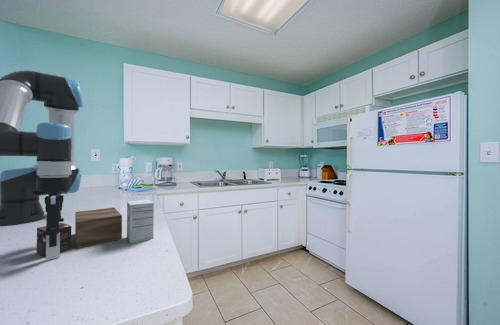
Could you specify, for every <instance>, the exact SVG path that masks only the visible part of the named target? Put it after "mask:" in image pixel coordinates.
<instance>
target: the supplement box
mask: <svg viewBox="0 0 500 325" xmlns="http://www.w3.org/2000/svg"><path fill="white" fill-rule="evenodd" d="M154 205H155V203H154V202H153V201H152V200H150V199H139V200H129V201H128V200H127V202H126V237H127V238H128V240H129V243H130V244H133V243H139V242H144V241H149V240H153V239H154V234H155V233H154V222H155V220H154V219H155V218H154V216H155V212H154V211H155V208H154Z"/></svg>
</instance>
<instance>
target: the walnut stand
mask: <svg viewBox="0 0 500 325" xmlns="http://www.w3.org/2000/svg"><path fill="white" fill-rule="evenodd" d="M74 217H75V221H74V222H75V223H74V224H75V226H74V228H75V229H74V231H75V232H74V234H75V245H76V246H75V247H76V248H78V249H79V248H83V247H88V246H92V245H97V244H103V243H108V242H112V241H118V240H122V239H123V234H122V233H123V215H122V213H120V212H119V211H118V210H117V209H116V207H107V208H98V209H91V210H90V209H89V210H81V211H75V216H74Z"/></svg>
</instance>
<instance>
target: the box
mask: <svg viewBox="0 0 500 325" xmlns="http://www.w3.org/2000/svg"><path fill="white" fill-rule="evenodd" d="M53 229H56V228H53ZM59 230H60V254H61V253H65V252H68V251H71V250H72V225H69V224H67V223H63V222H61V223H60V222H59ZM45 232H46V225H45V226H40V227H37V228H36V254H37V255H40V256H42V257H44V258H46V236H43V235H42V234H43V233H45Z"/></svg>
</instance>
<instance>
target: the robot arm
mask: <svg viewBox="0 0 500 325" xmlns="http://www.w3.org/2000/svg"><path fill="white" fill-rule="evenodd" d="M31 101H36V102H41V103H42V102H43V106H44V108H45V109H46V110H48V122H40V123H37V126H36V132H34V131H24V130H23V131H21V128H22V125H23V121H24V117H25V114H26V110H27V107H28V106H27V105H28V103H30V102H31ZM83 104H84V103H83V96H82V90H81V84H80V83H79V81H78V80H76V79H73V78H69V77H63V76H59V75H55V74H49V73H43V72H37V71H34V70H18V71H14V72H10V73H8V74H6V75H4V76H2V77H1V78H0V157H36V164H34V165H33V167H22V168H12V169H5V170H3V171H1V173H0V226H12V225H13V226H14V225H21V224H26V223H32V222H36V221H39V220H44V219H45V212H46V223H45V224H46V225H45V226H46V232H45V233H43V234H42V235H43V236H46V257H45V260H46V261H47V260H52V259H56V258H59V257H60V256H61V253H60V230H59V223H63V222H64V221H65V218H64V217H62V214H61V213H62V211H63V203H64V194H66V195H68V194H72V193H74V194H75V193H77V192H78V191H79V190H80V186H81V181H82V172H83V170H82V169H80V168H79V166H78V165H77V163H75V114H76V113H78V112H79V111H80V108H82V107H84V106H83ZM40 196H45V197H44V204H45V205H44V206H45V208H43V206H42V204H41V202H40ZM44 210H45V211H44ZM53 228H56V229H53Z"/></svg>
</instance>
